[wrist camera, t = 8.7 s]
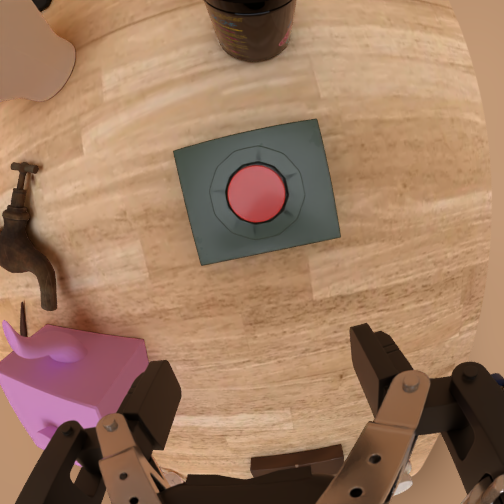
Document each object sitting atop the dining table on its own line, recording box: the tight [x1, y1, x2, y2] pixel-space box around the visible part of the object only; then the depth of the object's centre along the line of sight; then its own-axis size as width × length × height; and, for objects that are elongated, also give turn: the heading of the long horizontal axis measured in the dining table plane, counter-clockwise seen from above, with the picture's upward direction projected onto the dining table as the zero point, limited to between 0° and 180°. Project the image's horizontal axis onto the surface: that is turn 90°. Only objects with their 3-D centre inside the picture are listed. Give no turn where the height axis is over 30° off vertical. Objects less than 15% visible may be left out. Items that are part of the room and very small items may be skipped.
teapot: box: [0, 320, 149, 467], centre depth 24 cm, size 15×25×14 cm, turn 0°
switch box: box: [173, 119, 341, 266], centre depth 23 cm, size 12×10×4 cm
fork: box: [20, 302, 27, 337], centre depth 30 cm, size 3×16×2 cm, turn 157°
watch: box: [162, 472, 184, 486], centre depth 35 cm, size 8×5×4 cm, turn 57°
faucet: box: [0, 162, 57, 311], centre depth 25 cm, size 5×17×15 cm
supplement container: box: [204, 0, 297, 61], centre depth 16 cm, size 7×7×10 cm
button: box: [228, 165, 285, 222], centre depth 20 cm, size 4×4×2 cm
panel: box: [250, 444, 344, 478], centre depth 33 cm, size 13×11×3 cm
